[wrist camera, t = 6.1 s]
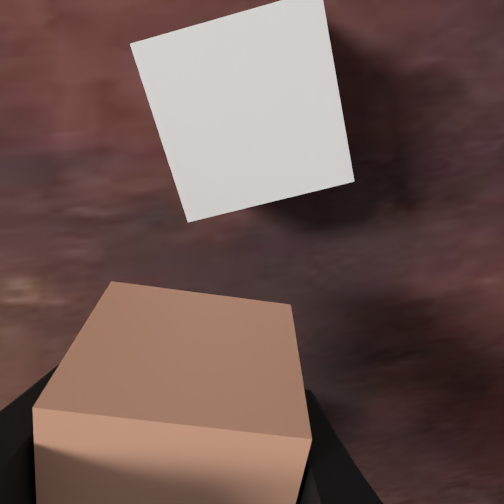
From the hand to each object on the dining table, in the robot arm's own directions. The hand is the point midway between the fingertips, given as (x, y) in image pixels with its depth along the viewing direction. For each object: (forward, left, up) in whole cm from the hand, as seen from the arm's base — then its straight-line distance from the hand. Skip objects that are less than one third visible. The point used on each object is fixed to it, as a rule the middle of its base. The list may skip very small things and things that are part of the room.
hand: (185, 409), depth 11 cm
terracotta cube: (0, 0, -2) cm, 2 cm away
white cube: (+6, -1, -9) cm, 11 cm away
